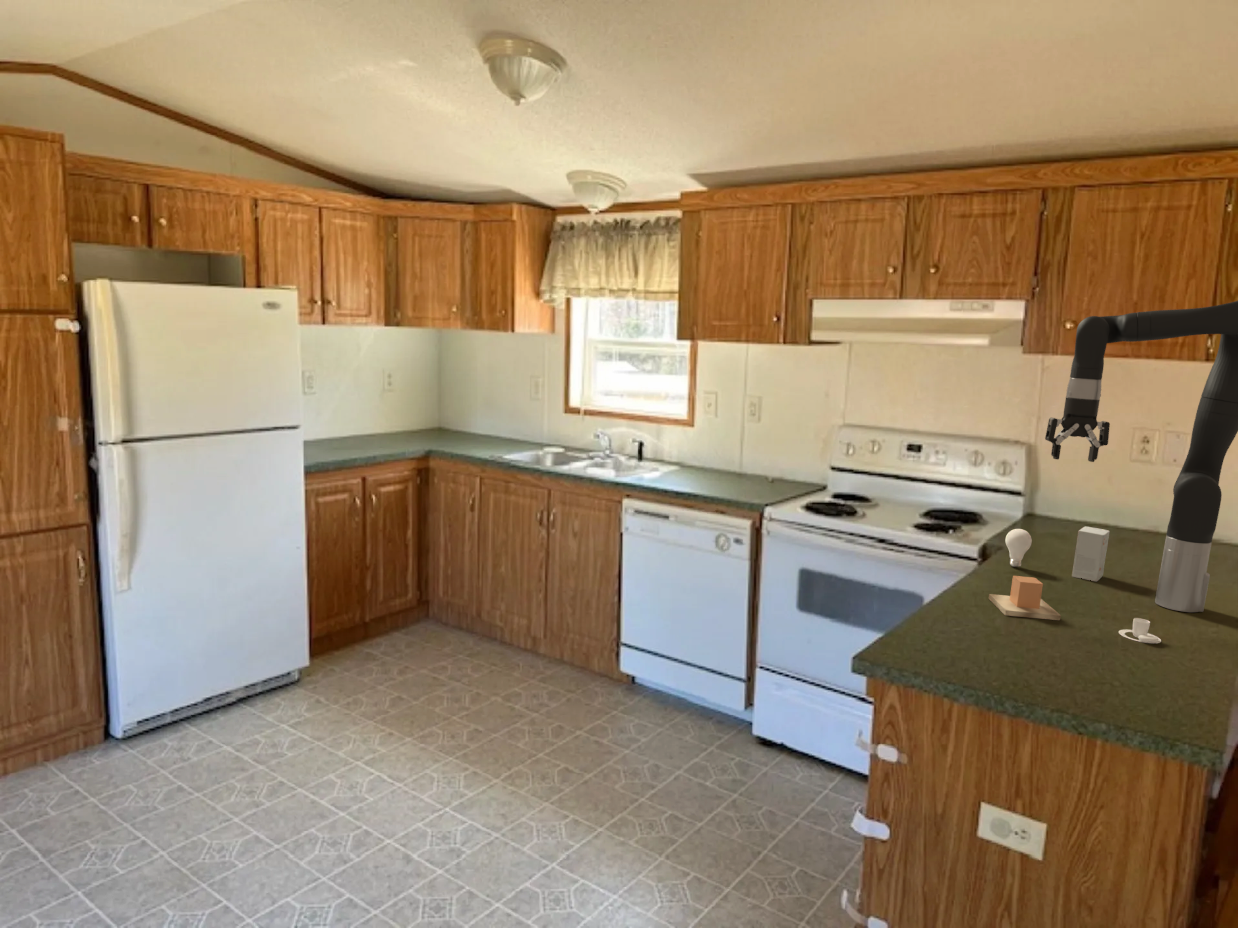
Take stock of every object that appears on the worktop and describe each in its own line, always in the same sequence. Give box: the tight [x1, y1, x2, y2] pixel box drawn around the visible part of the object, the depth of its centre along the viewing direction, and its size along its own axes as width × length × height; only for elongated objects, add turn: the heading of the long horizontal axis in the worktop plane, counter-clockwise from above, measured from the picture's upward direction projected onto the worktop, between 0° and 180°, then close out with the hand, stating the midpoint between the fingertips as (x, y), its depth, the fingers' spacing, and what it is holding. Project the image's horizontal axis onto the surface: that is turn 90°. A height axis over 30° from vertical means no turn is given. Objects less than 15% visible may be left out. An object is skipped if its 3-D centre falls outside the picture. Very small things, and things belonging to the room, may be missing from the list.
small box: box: [1071, 526, 1111, 582], centre depth 228 cm, size 8×6×13 cm
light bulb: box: [1005, 528, 1033, 568], centre depth 233 cm, size 7×7×11 cm
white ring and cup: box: [1118, 617, 1162, 644], centre depth 182 cm, size 9×8×4 cm
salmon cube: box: [1009, 575, 1044, 609], centre depth 196 cm, size 5×5×6 cm
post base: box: [988, 593, 1062, 621], centre depth 196 cm, size 12×12×5 cm
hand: (1073, 460), depth 213 cm, fingers open, 8 cm apart
